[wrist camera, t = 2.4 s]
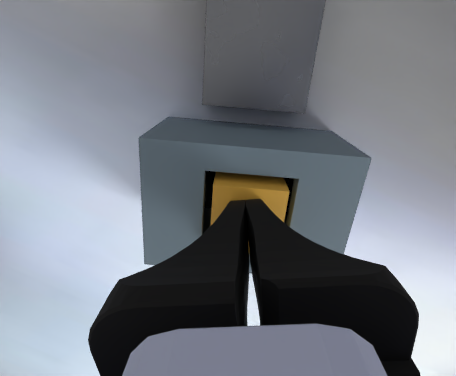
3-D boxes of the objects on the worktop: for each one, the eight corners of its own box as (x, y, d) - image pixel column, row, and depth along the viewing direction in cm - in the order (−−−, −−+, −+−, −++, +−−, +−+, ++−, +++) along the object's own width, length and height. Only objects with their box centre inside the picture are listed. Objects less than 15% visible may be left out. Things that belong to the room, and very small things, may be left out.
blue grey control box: (331, 131, 15) (371, 158, 11) (310, 225, 18) (335, 280, 13) (161, 116, 15) (128, 137, 11) (162, 212, 18) (136, 263, 13)
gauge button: (277, 163, 14) (289, 191, 11) (269, 215, 15) (277, 254, 12) (218, 158, 14) (213, 185, 11) (215, 211, 15) (209, 248, 12)
